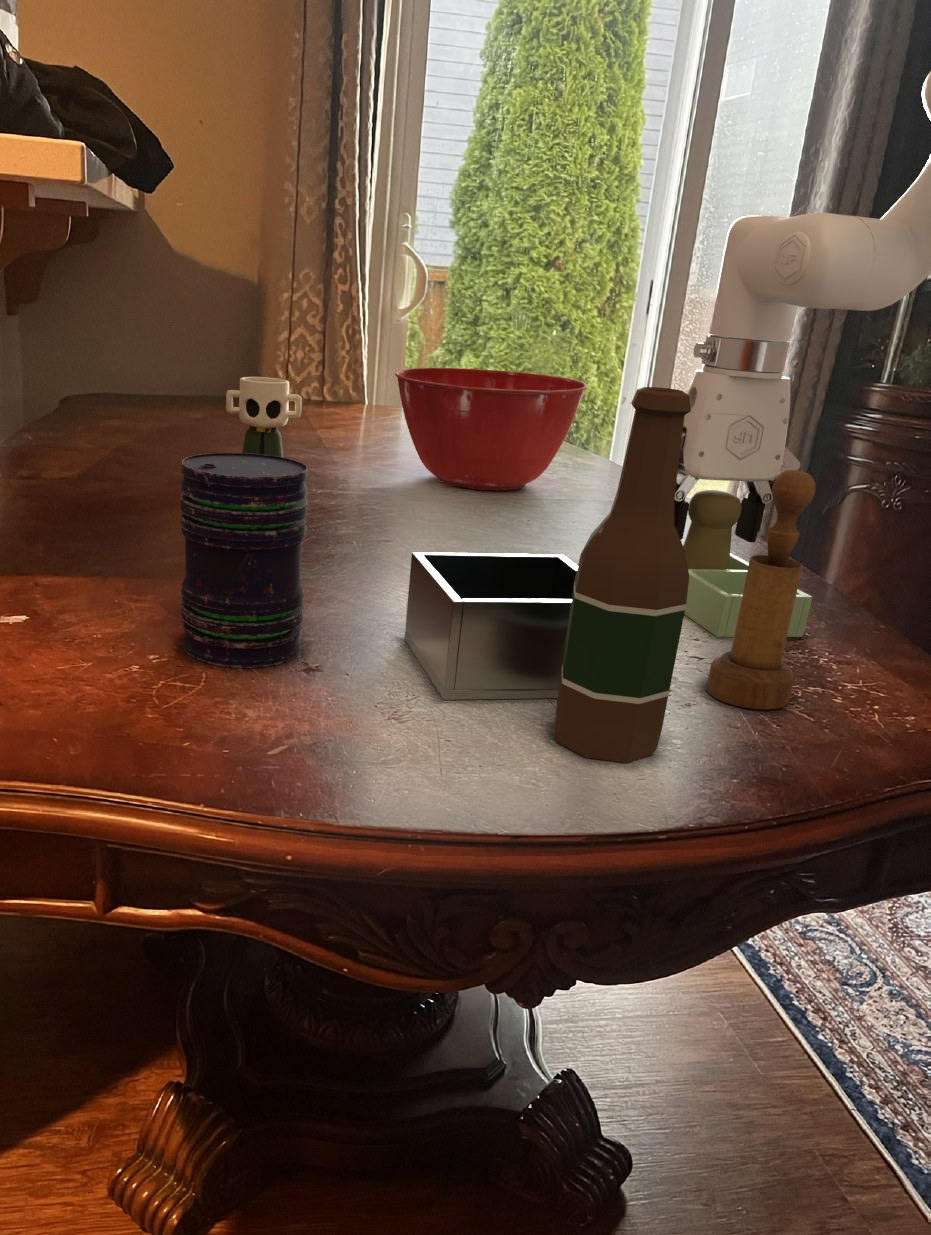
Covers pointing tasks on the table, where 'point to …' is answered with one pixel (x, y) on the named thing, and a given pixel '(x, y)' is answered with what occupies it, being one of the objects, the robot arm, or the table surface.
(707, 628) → the divided storage box
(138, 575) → the table surface
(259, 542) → the oil drum
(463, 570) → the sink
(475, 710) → the table surface
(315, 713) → the table surface
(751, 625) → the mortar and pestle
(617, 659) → the beer bottle
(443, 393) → the mixing bowl
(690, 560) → the cork
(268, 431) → the character mug
